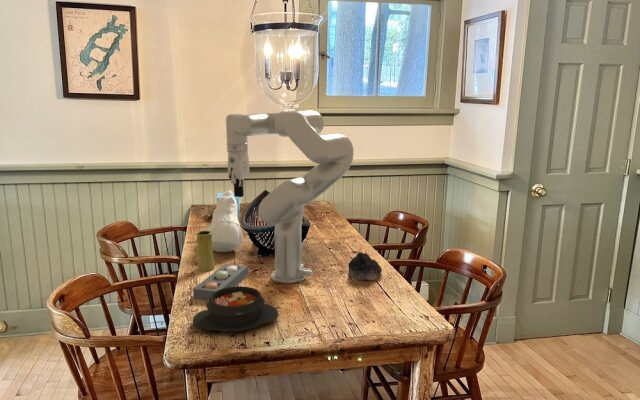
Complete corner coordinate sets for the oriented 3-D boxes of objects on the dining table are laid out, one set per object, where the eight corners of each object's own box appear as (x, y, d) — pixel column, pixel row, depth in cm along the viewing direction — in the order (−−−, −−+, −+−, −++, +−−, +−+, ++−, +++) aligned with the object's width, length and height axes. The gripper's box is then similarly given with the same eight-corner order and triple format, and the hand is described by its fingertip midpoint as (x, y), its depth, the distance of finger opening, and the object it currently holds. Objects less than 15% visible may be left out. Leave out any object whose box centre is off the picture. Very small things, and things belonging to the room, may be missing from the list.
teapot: (219, 212, 273) (218, 187, 270) (240, 212, 275) (239, 187, 272) (217, 223, 252) (215, 196, 249) (239, 223, 254) (238, 196, 251)
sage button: (229, 278, 176) (229, 271, 176) (224, 282, 173) (224, 275, 172) (219, 277, 177) (219, 270, 177) (214, 281, 174) (213, 274, 173)
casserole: (193, 343, 138) (192, 314, 136) (192, 313, 155) (190, 287, 153) (284, 331, 144) (283, 304, 142) (272, 304, 162) (272, 279, 160)
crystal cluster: (373, 268, 195) (371, 243, 193) (389, 278, 182) (387, 251, 181) (341, 275, 191) (339, 250, 189) (356, 285, 178) (353, 258, 176)
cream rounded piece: (239, 272, 184) (239, 266, 183) (234, 276, 180) (234, 270, 180) (229, 271, 185) (229, 265, 184) (224, 275, 181) (224, 268, 181)
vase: (210, 272, 189) (208, 235, 185) (195, 270, 190) (193, 234, 186) (216, 266, 194) (215, 230, 191) (202, 265, 196) (200, 229, 192)
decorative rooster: (243, 244, 200) (249, 188, 211) (203, 239, 196) (211, 182, 207) (235, 263, 222) (241, 211, 232) (199, 258, 218) (206, 206, 229)
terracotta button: (219, 289, 169) (219, 282, 168) (214, 294, 165) (214, 287, 165) (209, 288, 170) (208, 281, 169) (203, 293, 166) (202, 285, 166)
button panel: (248, 275, 186) (247, 266, 185) (218, 301, 163) (218, 291, 162) (225, 272, 188) (225, 263, 187) (193, 298, 165) (193, 288, 165)
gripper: (238, 151, 178) (240, 201, 183) (254, 146, 192) (255, 192, 197) (219, 150, 180) (221, 200, 184) (236, 145, 194) (237, 191, 199)
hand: (239, 196), depth 191 cm, fingers closed
